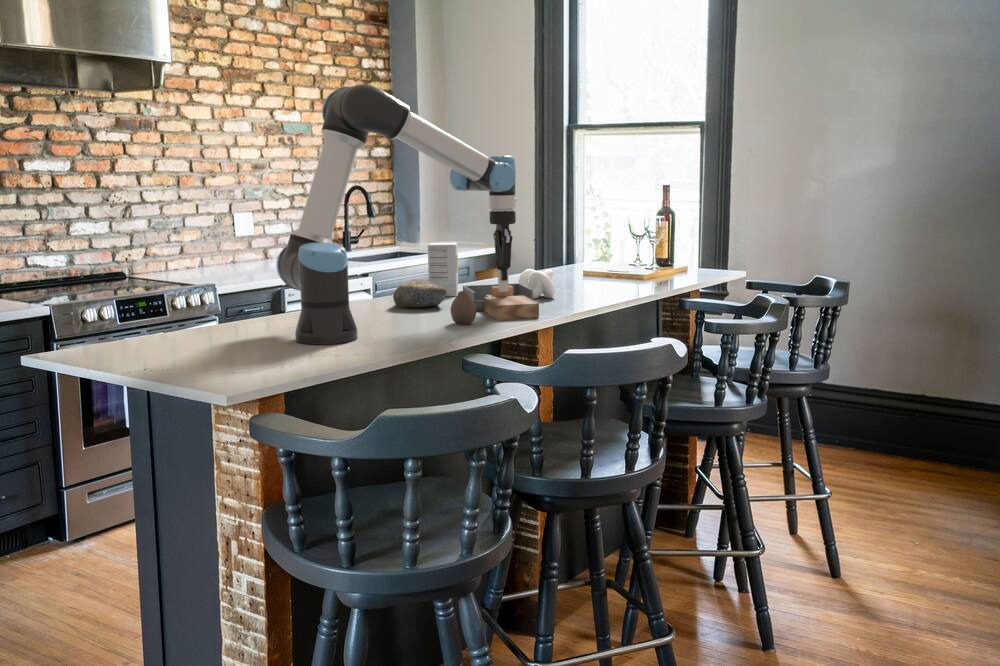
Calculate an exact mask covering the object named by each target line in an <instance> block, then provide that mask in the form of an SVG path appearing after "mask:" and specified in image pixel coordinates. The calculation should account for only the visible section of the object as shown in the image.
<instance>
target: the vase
mask: <svg viewBox="0 0 1000 666" xmlns="http://www.w3.org/2000/svg"><path fill="white" fill-rule="evenodd" d="M450 316H451V319H452V321H453V322H454V323H455V324H456V326H457V325H458V326H467V325H471V324H472V323H473V322H475V319H476V317H477V311H476V305H475V303H474V301H473V299H472V298H471V297H470V296H469V294H468V292H467V291H463V290H460V291H459V290H458V294H457V296H455V298H454V299H453V301H452V303H451V306H450Z"/></svg>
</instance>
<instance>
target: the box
mask: <svg viewBox="0 0 1000 666" xmlns="http://www.w3.org/2000/svg"><path fill="white" fill-rule="evenodd" d="M491 286H498V283H496V284H476V285H473V284H472V285H462V291H467V292H468V294H469V296H470V297H471V298H472V299H473V301H474V303H475V305H476V312H483V311H484V297H486V295H492V292H491ZM508 286H513V296H523V295H524V296H526V297H527V298H529V299H531V300H533V301H534V299H533V290H532V289H530V288H528V287H526V286H524V285H522V284H520V283H519V282H517V283H515V282H514V283H508ZM484 312H485V311H484Z"/></svg>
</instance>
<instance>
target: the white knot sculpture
mask: <svg viewBox="0 0 1000 666" xmlns="http://www.w3.org/2000/svg"><path fill="white" fill-rule="evenodd" d="M553 276H554V272H553V270H552V269H550V268H546V269H545V270H544V271H540V270H536V269H533V268H526V269H525V270H524V271H522V272H521V274H520V275H519V277H518V283H520V284H522V285H524V286H526V287H528V288H530V289H532V290H533V300H534V299H536V298H539V297H541V295H543V296H544V297H546V298H548V299H552V298H553V297H555V294H556V289H555V285H554V284H553V282H552V279H553Z"/></svg>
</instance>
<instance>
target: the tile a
mask: <svg viewBox="0 0 1000 666" xmlns="http://www.w3.org/2000/svg"><path fill="white" fill-rule="evenodd" d="M508 288H509V291H507V292H499V291H498V286H491V292H492V297H502V296H513V286H508Z"/></svg>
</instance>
